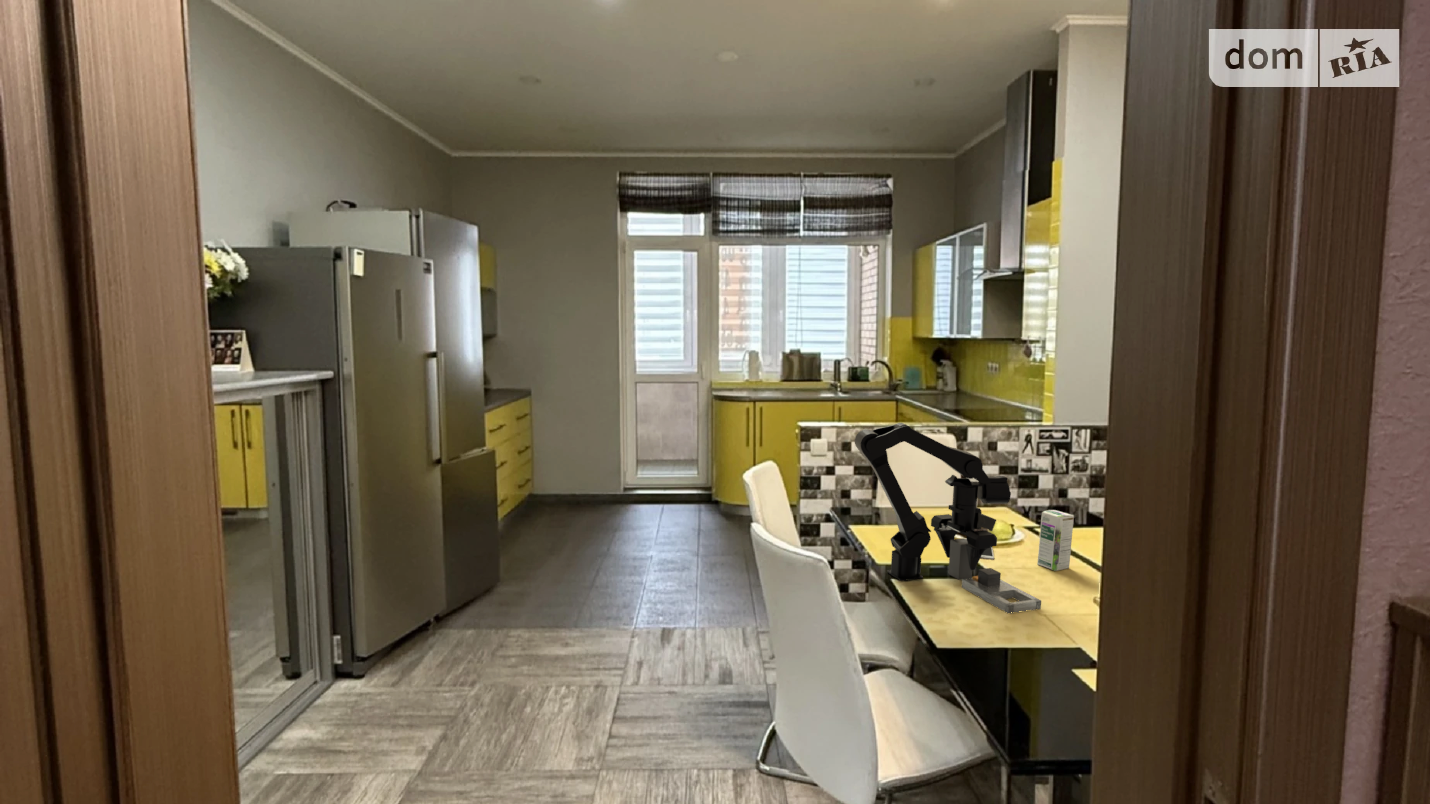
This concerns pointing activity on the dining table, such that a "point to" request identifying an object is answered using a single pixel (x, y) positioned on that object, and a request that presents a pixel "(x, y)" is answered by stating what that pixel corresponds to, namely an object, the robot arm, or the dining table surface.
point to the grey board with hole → (999, 592)
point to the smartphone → (988, 554)
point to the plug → (959, 560)
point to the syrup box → (1055, 540)
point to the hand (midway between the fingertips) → (960, 563)
